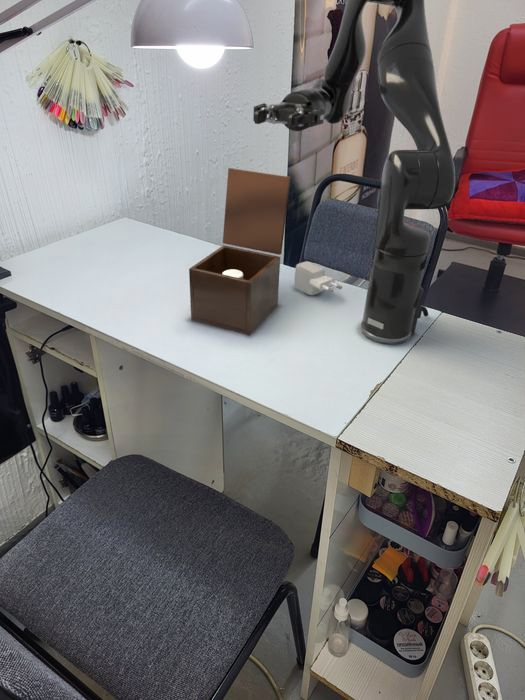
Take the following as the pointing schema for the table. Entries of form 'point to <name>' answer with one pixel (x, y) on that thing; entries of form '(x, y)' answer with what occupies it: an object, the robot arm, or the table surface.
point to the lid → (256, 210)
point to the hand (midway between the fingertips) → (273, 119)
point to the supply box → (234, 289)
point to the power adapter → (312, 279)
